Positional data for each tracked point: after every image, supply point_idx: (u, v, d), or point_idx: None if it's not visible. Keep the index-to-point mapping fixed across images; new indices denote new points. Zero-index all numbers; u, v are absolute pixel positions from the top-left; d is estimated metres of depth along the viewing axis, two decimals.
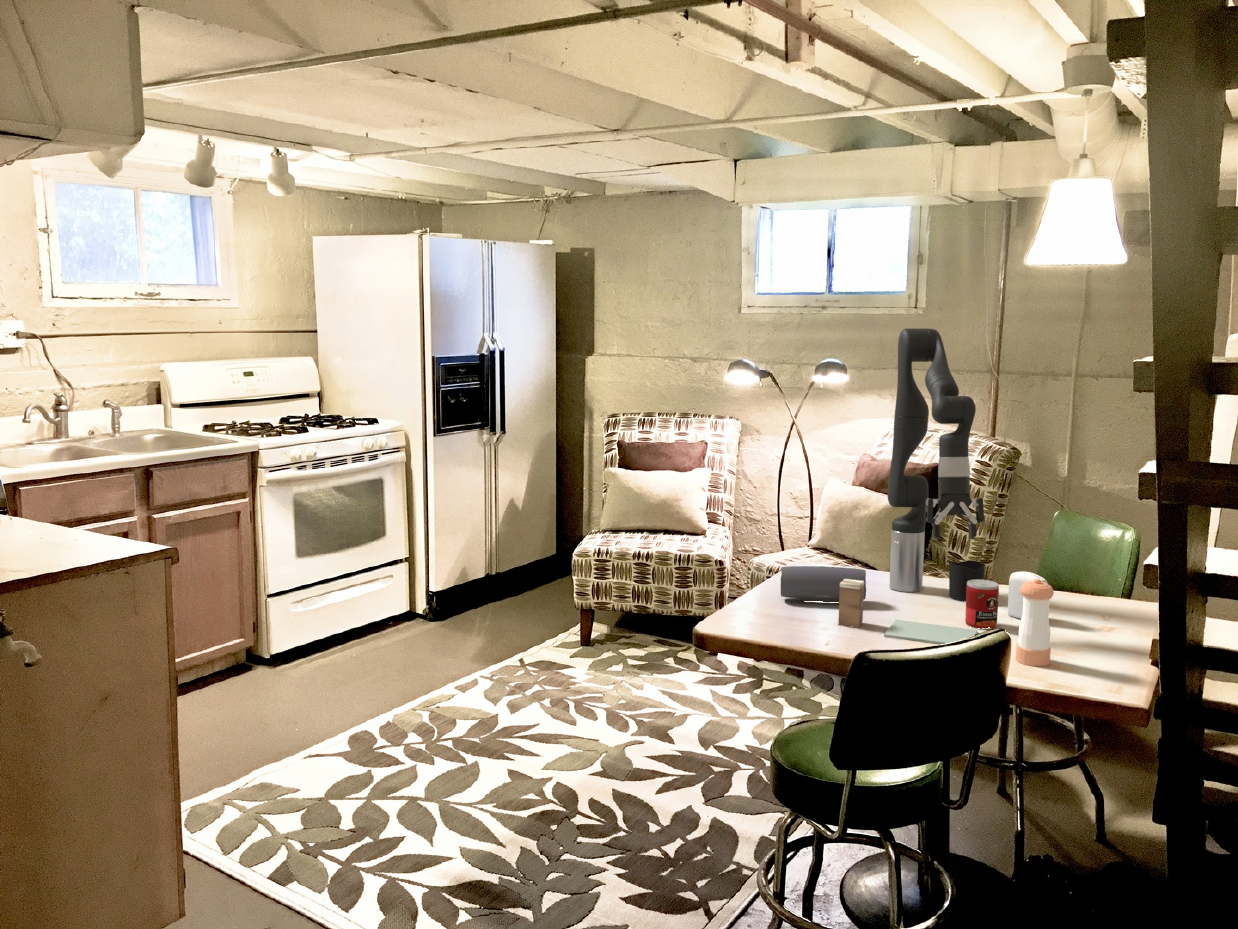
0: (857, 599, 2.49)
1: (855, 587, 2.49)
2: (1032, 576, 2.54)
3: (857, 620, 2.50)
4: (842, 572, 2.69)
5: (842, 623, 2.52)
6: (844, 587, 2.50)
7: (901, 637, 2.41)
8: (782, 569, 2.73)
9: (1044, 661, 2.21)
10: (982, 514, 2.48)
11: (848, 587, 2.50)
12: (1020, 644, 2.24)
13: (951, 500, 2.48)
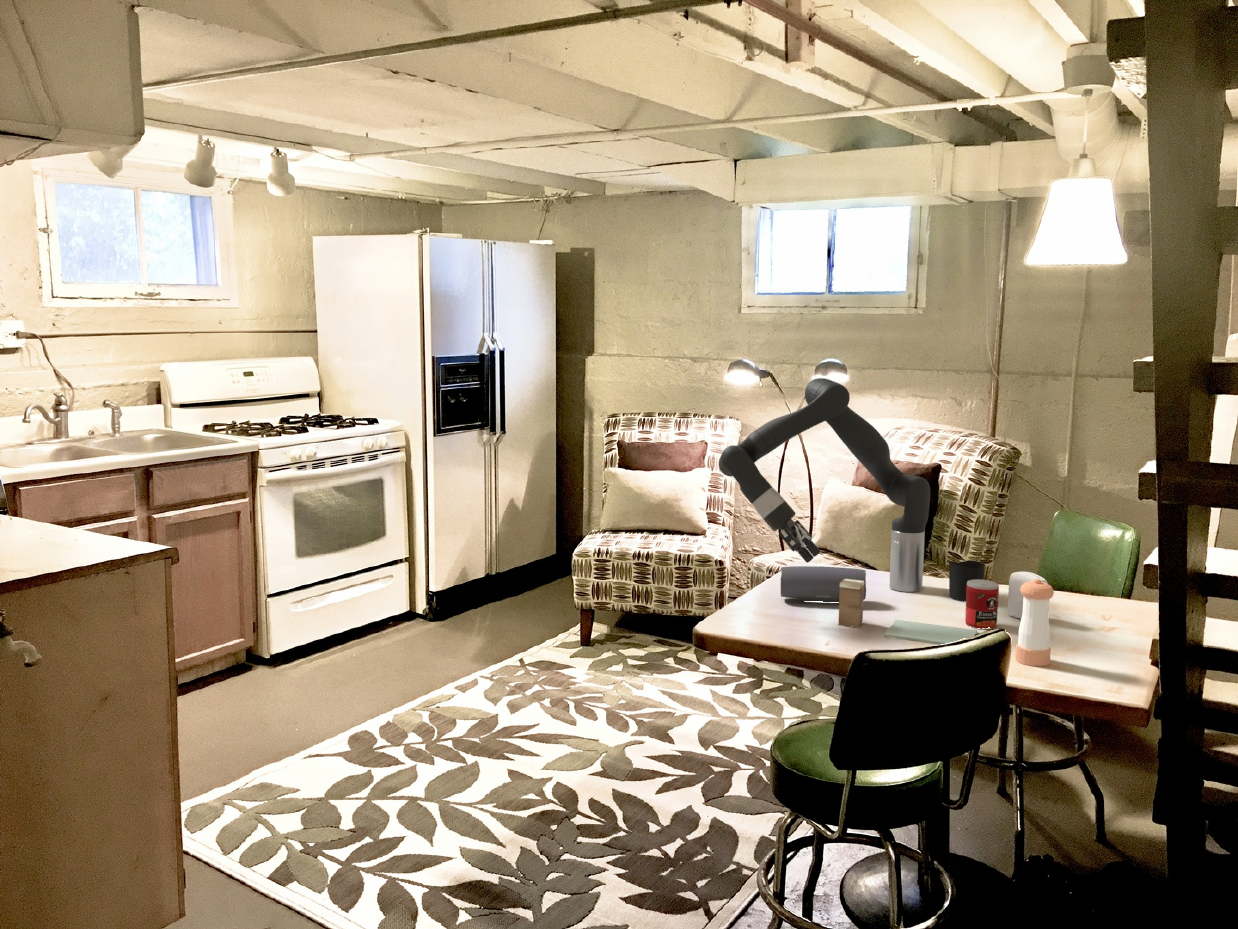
0: (857, 599, 2.49)
1: (855, 587, 2.49)
2: (1032, 576, 2.54)
3: (857, 620, 2.50)
4: (842, 572, 2.69)
5: (842, 623, 2.52)
6: (844, 587, 2.50)
7: (901, 637, 2.41)
8: (782, 569, 2.73)
9: (1044, 661, 2.21)
10: None
11: (848, 587, 2.50)
12: (1020, 644, 2.24)
13: None
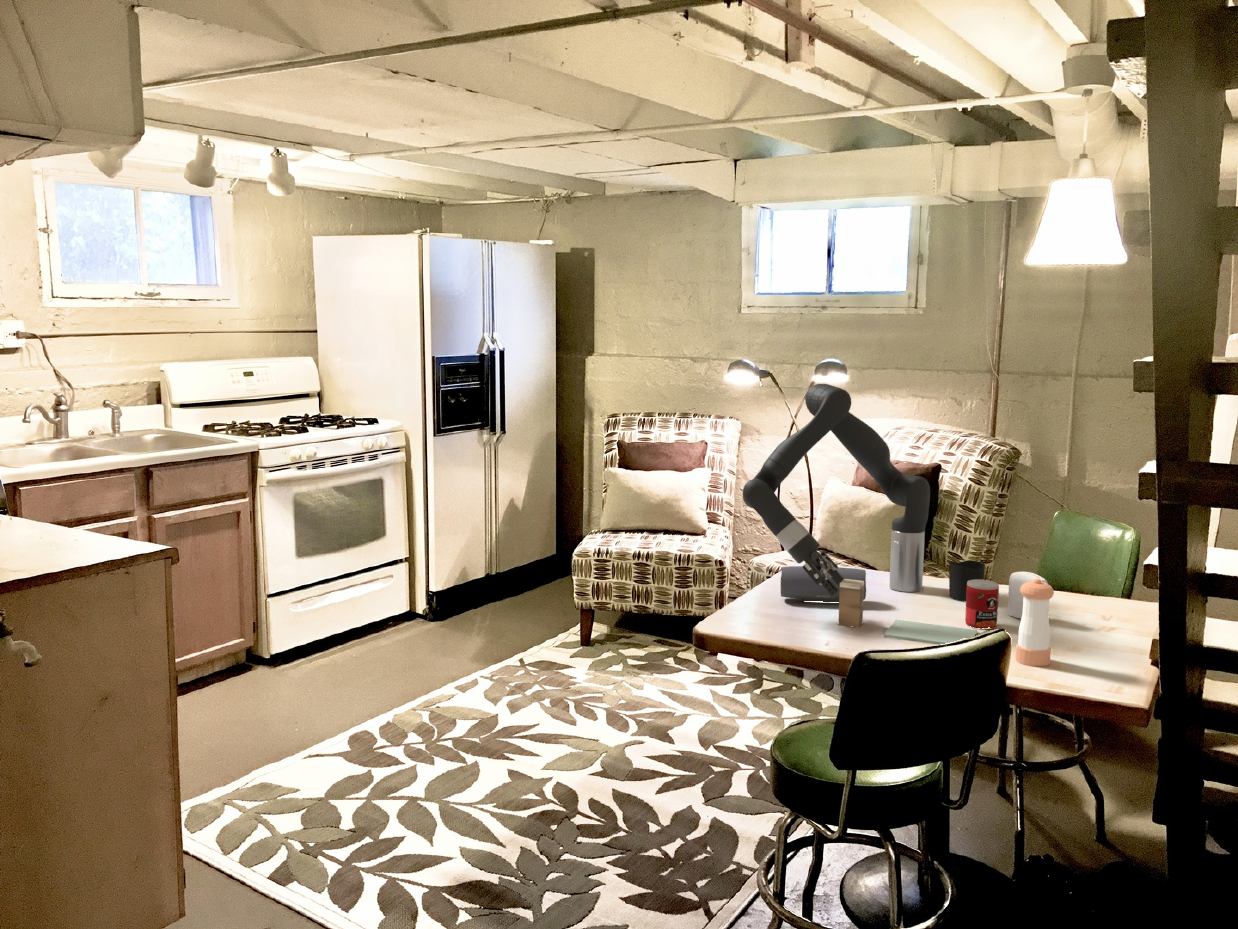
0: (857, 599, 2.49)
1: (855, 587, 2.49)
2: (1032, 576, 2.54)
3: (857, 620, 2.50)
4: (842, 572, 2.69)
5: (842, 623, 2.52)
6: (844, 587, 2.50)
7: (901, 637, 2.41)
8: (782, 569, 2.73)
9: (1044, 661, 2.21)
10: None
11: (848, 587, 2.50)
12: (1020, 644, 2.24)
13: None
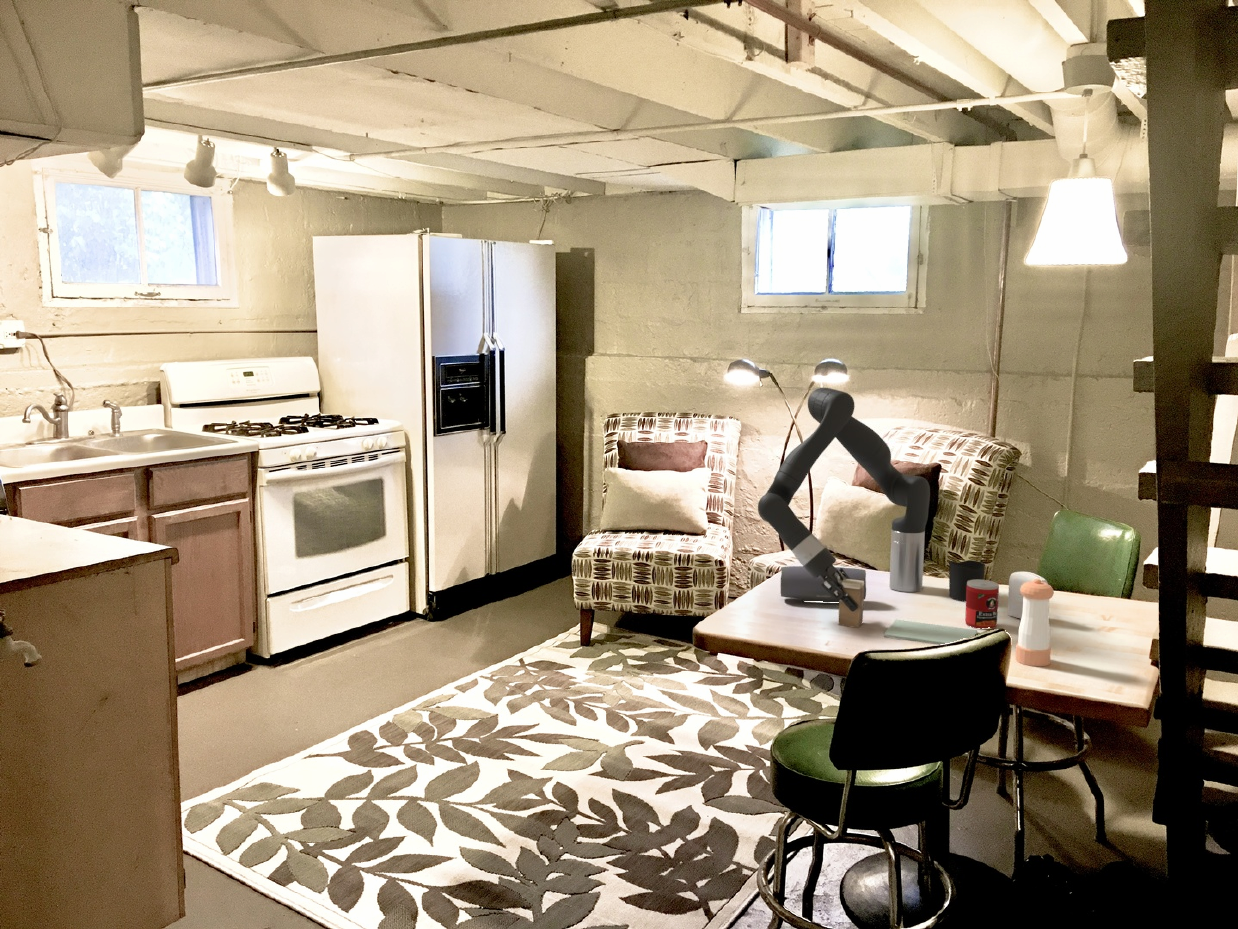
0: (857, 599, 2.49)
1: (855, 587, 2.49)
2: (1032, 576, 2.54)
3: (857, 620, 2.50)
4: None
5: (842, 623, 2.52)
6: (844, 587, 2.50)
7: (901, 637, 2.41)
8: (782, 569, 2.73)
9: (1044, 661, 2.21)
10: None
11: (848, 587, 2.50)
12: (1020, 644, 2.24)
13: None
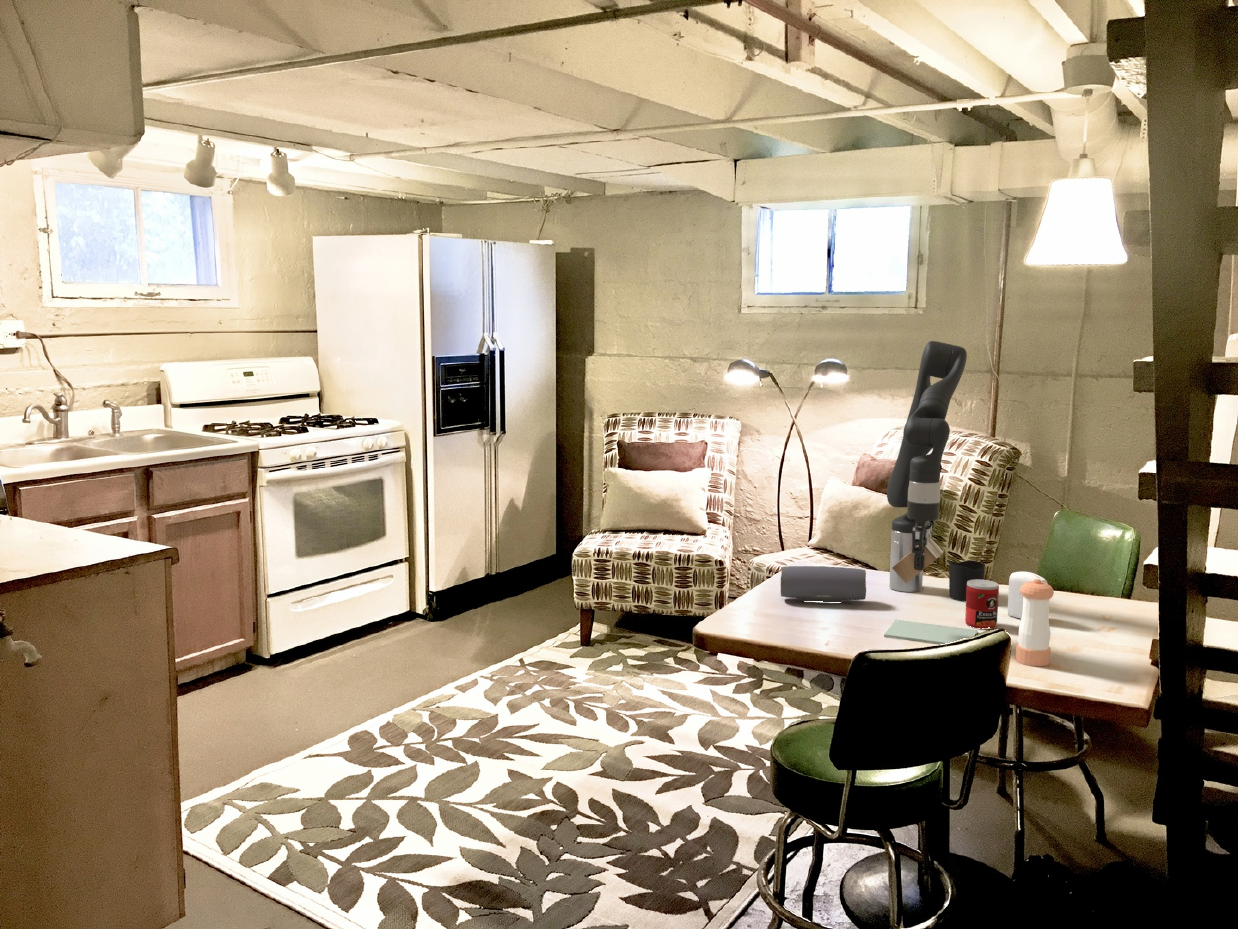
0: (927, 564, 2.40)
1: (935, 554, 2.39)
2: (1032, 576, 2.54)
3: (911, 578, 2.43)
4: (842, 572, 2.69)
5: (896, 569, 2.44)
6: (925, 546, 2.40)
7: (901, 637, 2.41)
8: (782, 569, 2.73)
9: (1044, 661, 2.21)
10: None
11: (929, 549, 2.40)
12: (1020, 644, 2.24)
13: None
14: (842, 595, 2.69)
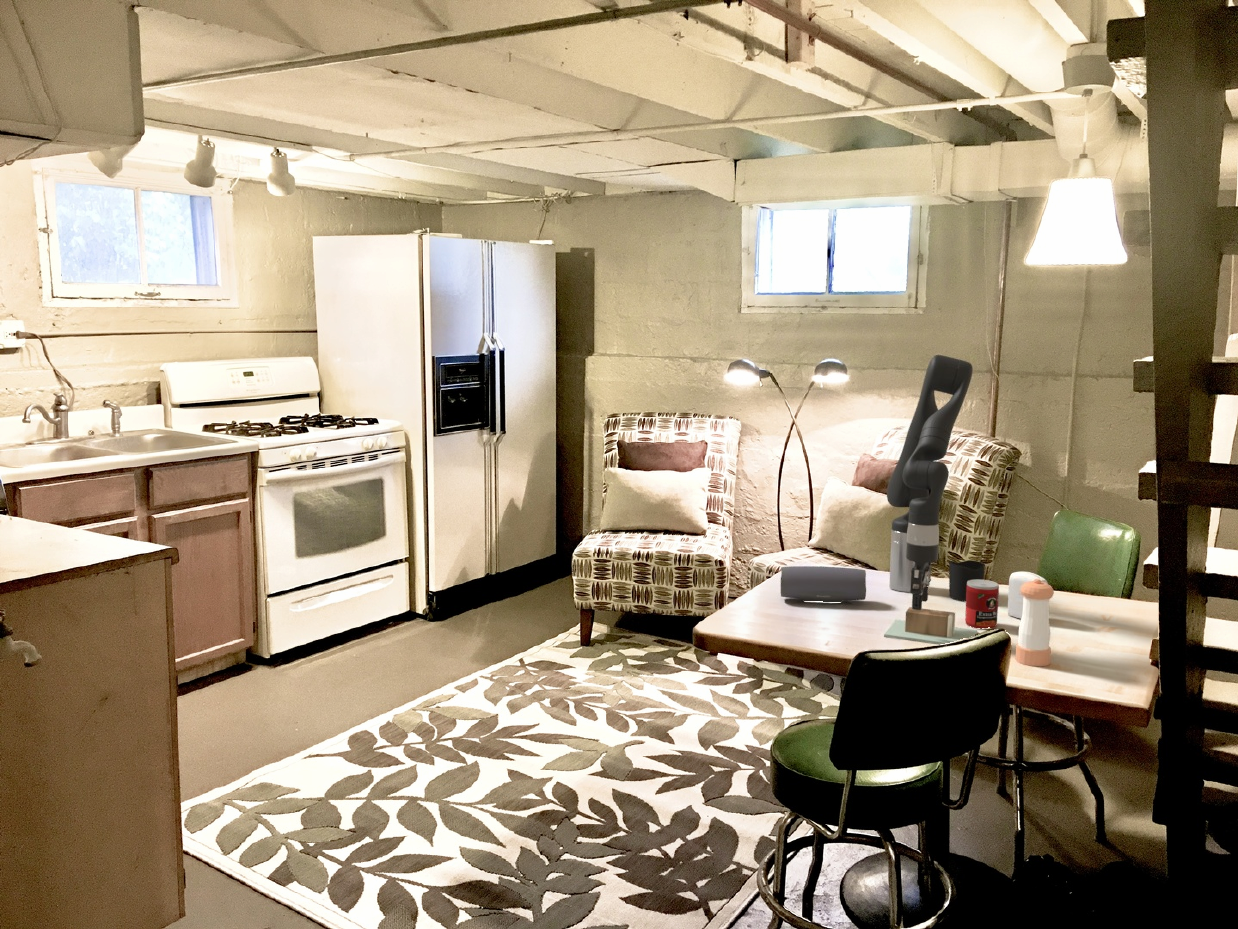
0: (935, 634, 2.41)
1: (948, 633, 2.40)
2: (1032, 576, 2.54)
3: (912, 631, 2.44)
4: (842, 572, 2.69)
5: (908, 616, 2.44)
6: (947, 622, 2.40)
7: (901, 637, 2.41)
8: (782, 569, 2.73)
9: (1044, 661, 2.21)
10: (910, 586, 2.39)
11: (948, 626, 2.40)
12: (1020, 644, 2.24)
13: None
14: (842, 596, 2.69)
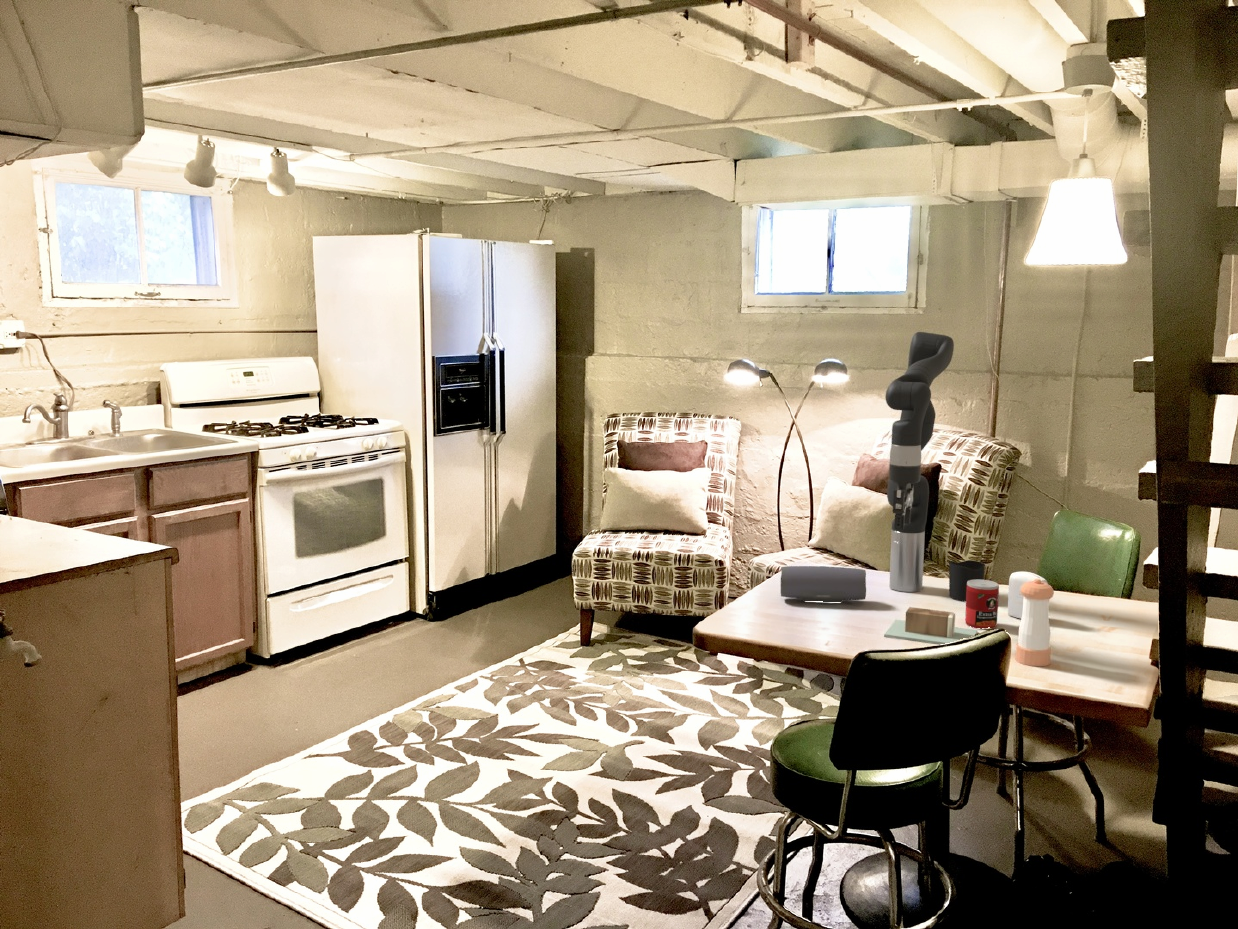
0: (935, 634, 2.41)
1: (948, 633, 2.40)
2: (1032, 576, 2.54)
3: (912, 631, 2.44)
4: (842, 572, 2.69)
5: (908, 616, 2.44)
6: (947, 622, 2.40)
7: (901, 637, 2.41)
8: (782, 569, 2.73)
9: (1044, 661, 2.21)
10: (893, 506, 2.41)
11: (948, 626, 2.40)
12: (1020, 644, 2.24)
13: None
14: (842, 595, 2.69)
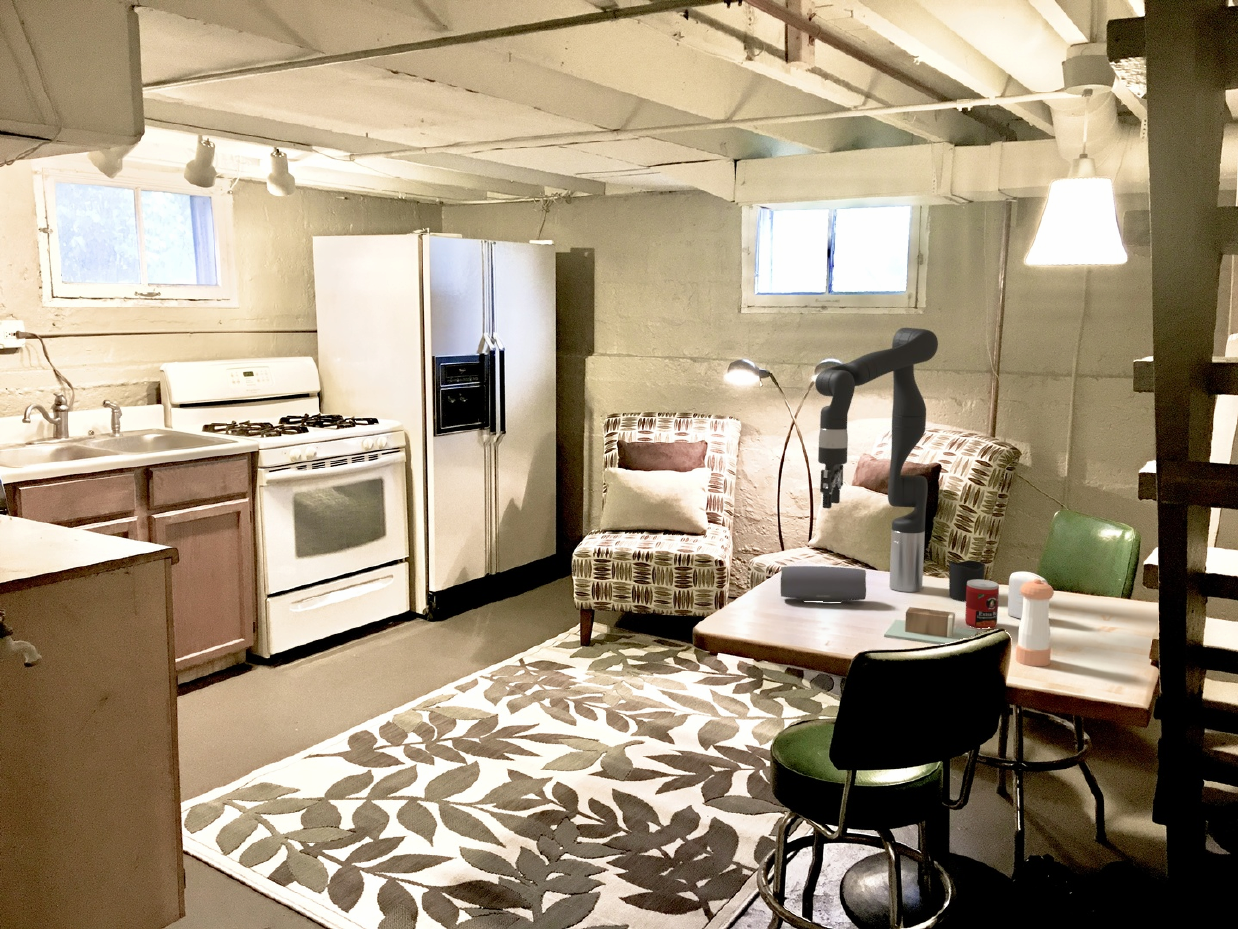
0: (935, 634, 2.41)
1: (948, 633, 2.40)
2: (1032, 576, 2.54)
3: (912, 631, 2.44)
4: (842, 572, 2.69)
5: (908, 616, 2.44)
6: (947, 622, 2.40)
7: (901, 637, 2.41)
8: (782, 569, 2.73)
9: (1044, 661, 2.21)
10: None
11: (948, 626, 2.40)
12: (1020, 644, 2.24)
13: None
14: (842, 595, 2.69)
